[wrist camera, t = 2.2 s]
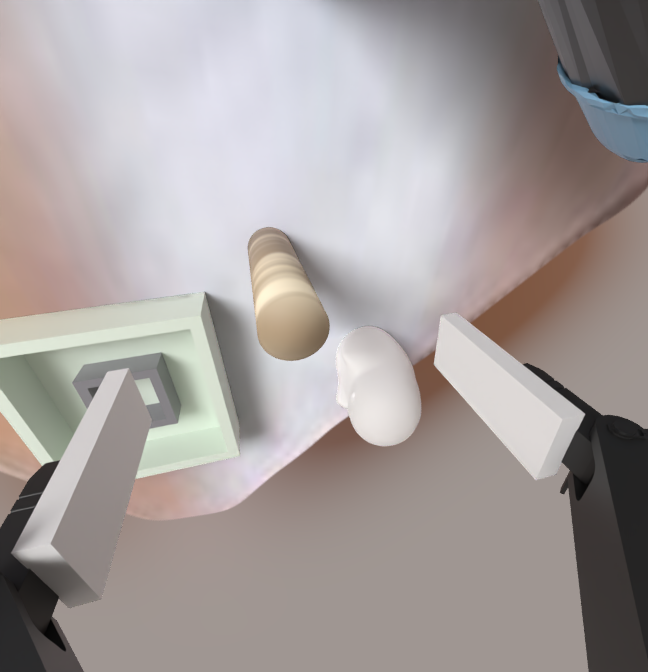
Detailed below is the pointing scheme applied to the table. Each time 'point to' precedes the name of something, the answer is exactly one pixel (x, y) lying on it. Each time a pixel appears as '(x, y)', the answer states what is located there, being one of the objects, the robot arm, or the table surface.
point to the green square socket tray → (114, 354)
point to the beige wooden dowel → (284, 299)
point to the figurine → (377, 386)
